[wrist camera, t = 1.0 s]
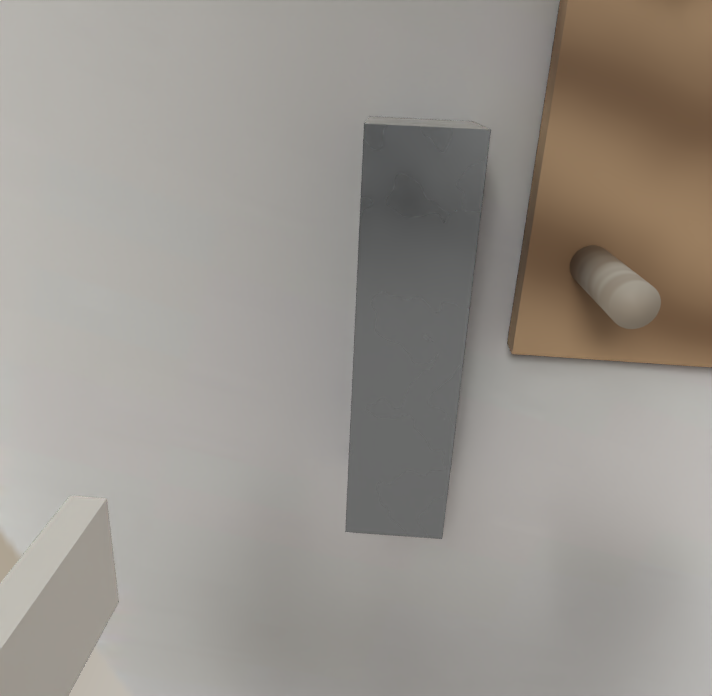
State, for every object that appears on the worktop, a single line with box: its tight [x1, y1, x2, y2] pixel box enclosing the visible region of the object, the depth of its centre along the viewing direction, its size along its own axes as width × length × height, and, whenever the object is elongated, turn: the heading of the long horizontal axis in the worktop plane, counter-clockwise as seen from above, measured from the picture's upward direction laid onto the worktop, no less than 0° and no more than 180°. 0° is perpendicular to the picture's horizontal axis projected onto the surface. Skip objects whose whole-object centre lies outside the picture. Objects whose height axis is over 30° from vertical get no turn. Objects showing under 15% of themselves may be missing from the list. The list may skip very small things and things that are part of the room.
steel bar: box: [345, 116, 491, 539], centre depth 25 cm, size 16×4×5 cm, turn 177°
